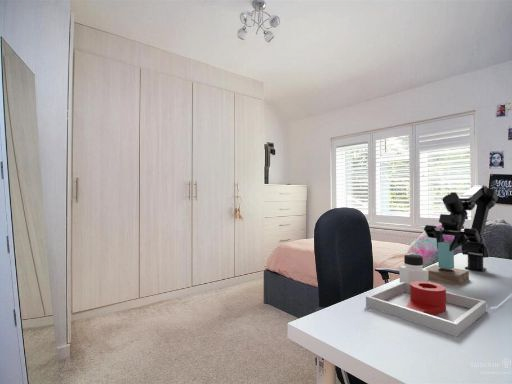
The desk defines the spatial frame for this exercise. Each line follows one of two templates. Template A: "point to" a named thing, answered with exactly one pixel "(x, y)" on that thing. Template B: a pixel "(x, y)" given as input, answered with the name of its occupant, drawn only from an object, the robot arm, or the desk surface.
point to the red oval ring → (427, 297)
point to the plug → (445, 255)
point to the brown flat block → (448, 275)
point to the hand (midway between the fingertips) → (444, 249)
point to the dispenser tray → (425, 319)
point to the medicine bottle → (413, 269)
